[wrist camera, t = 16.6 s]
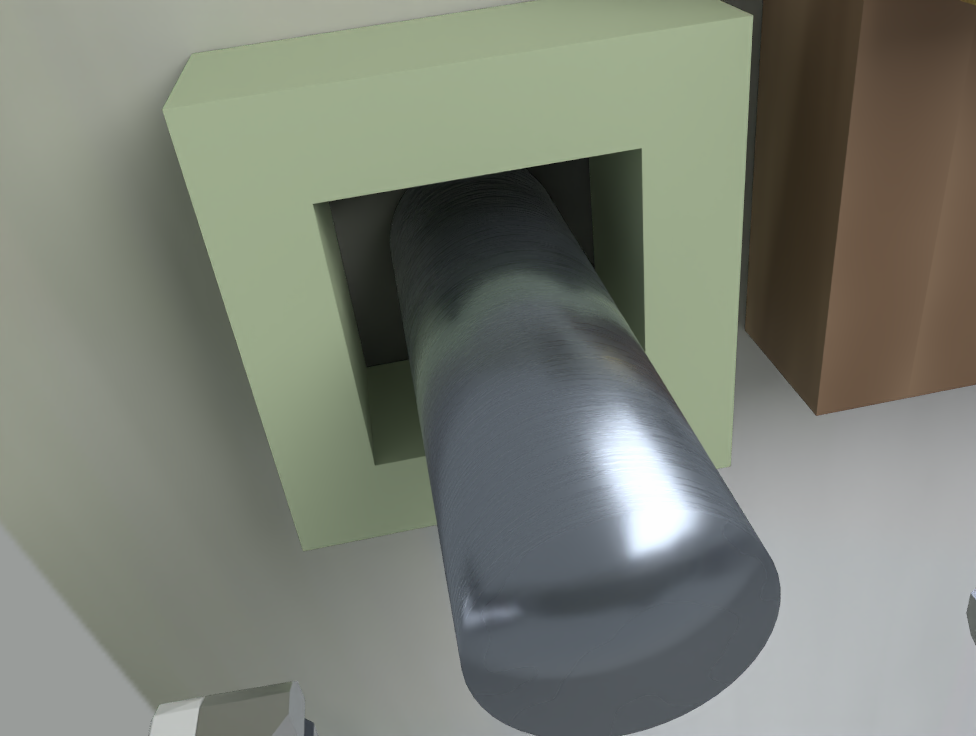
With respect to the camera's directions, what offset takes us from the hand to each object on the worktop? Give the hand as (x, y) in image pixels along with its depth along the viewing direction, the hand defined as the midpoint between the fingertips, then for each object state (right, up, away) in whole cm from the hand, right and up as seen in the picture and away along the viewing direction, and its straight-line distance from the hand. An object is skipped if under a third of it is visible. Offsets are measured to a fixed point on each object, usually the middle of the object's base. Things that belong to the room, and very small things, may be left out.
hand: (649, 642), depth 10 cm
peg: (-2, +6, +10) cm, 12 cm away
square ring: (-2, +6, +10) cm, 12 cm away
